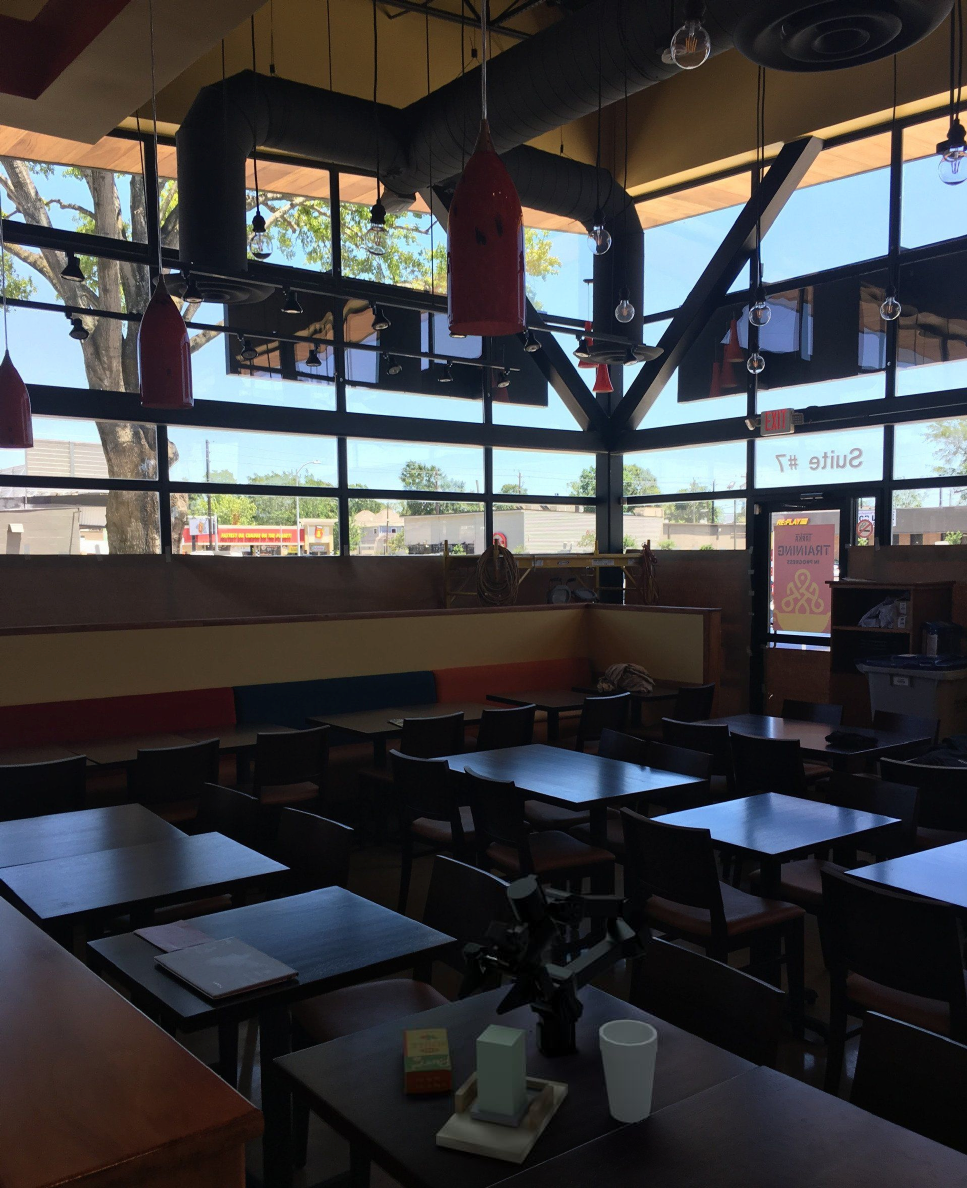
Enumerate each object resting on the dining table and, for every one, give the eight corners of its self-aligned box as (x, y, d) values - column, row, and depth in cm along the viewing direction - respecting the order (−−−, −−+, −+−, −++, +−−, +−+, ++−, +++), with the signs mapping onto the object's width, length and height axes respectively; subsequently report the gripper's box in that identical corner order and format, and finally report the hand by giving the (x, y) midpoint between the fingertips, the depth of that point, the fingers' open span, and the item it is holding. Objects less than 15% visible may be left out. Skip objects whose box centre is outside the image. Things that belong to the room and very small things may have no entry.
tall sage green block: (489, 1093, 160) (487, 1020, 160) (534, 1101, 157) (532, 1028, 157) (469, 1117, 153) (468, 1041, 153) (516, 1126, 150) (514, 1049, 150)
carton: (447, 1049, 181) (447, 1026, 181) (453, 1092, 165) (453, 1067, 165) (403, 1052, 180) (402, 1029, 180) (404, 1096, 164) (404, 1070, 164)
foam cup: (663, 1102, 160) (661, 1023, 160) (654, 1131, 151) (652, 1048, 151) (607, 1094, 163) (605, 1016, 163) (595, 1122, 154) (593, 1040, 154)
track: (491, 1078, 169) (491, 1052, 169) (567, 1092, 163) (567, 1066, 163) (436, 1144, 149) (435, 1115, 149) (521, 1163, 143) (520, 1133, 143)
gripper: (478, 897, 179) (424, 956, 169) (556, 918, 166) (502, 984, 156) (498, 943, 183) (446, 1004, 172) (575, 967, 170) (524, 1034, 159)
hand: (477, 1005), depth 165 cm, fingers open, 9 cm apart
